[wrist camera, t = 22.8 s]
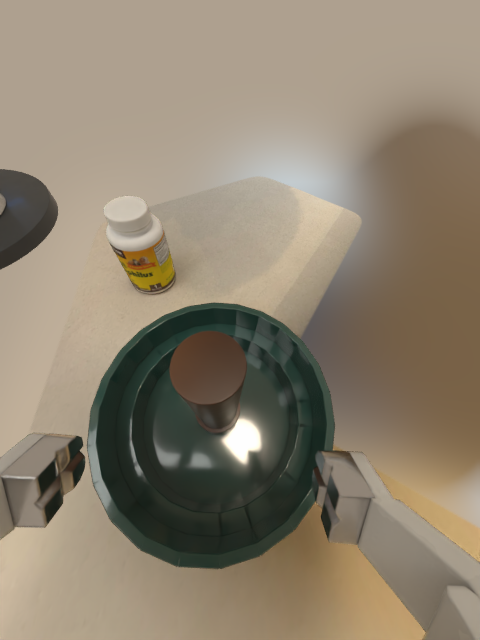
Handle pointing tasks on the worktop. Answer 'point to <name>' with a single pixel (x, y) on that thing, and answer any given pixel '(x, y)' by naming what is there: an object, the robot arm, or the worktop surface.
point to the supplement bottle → (139, 244)
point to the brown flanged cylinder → (210, 378)
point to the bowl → (209, 442)
